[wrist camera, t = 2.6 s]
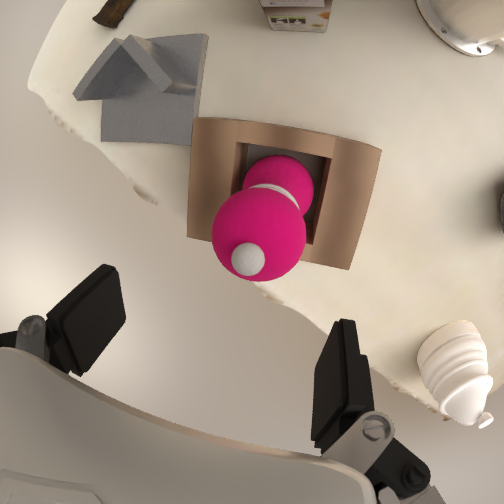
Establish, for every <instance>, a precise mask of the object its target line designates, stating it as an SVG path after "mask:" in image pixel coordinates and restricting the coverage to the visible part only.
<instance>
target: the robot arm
mask: <svg viewBox="0 0 504 504" xmlns="http://www.w3.org/2000/svg"><path fill="white" fill-rule="evenodd" d="M416 2H417V5H418V7H419V10H420V12H421V14H422V15H423V17H424V19H425V20H426V22H427V23H428V24H429V26H430V27H431V28H432V29H433V31H434V32H435V33H436V34H437V35H438V36H439V37H440V38H441V39H442V40H443V41H445V42H446V43H447V44H449V45H450V46H451V47H453V48H454V49H456V50H458V51H459V52H462V53H464V54H466V55H470V56H475V57H480V56H485V55H488V54H490V53H491V52H492V51H493V50H494V49H495V47H496V44H499V45H500V46H502V47H504V0H416ZM46 316H47V318H48V319H47V320H46V321H45V320H44V318H43V317H41V316H39V315H32V316H29V317H27V318H25V319H24V320H23V321H22V322H21V323H20V325H19V327H18V330H17V331H12V332H7V333H2V334H0V504H446V503H445V502H444V500H443V498H442V497H441V495H440V494H439V492H438V491H437V489H436V487H435V486H432V487H431V485H430V484H429V482H430V477H431V475H430V470H429V468H428V466H427V465H426V464H425V463H424V462H423V461H421V460H420V459H419V458H418V457H417V456H415V455H414V454H413V453H412V452H411V451H409V450H408V449H407V448H406V447H405V446H403V445H402V444H401V443H400V442H399V441H398V440H396V439H395V438H394V437H393V436H394V433H395V427H394V423H393V422H392V420H391V419H390V418H389V417H388V416H387V415H386V414H384V413H382V412H378V411H375V410H374V401H373V393H372V385H371V377H370V370H369V364H368V358H367V356H366V355H362V354H360V349H359V342H358V336H357V329H356V323H355V321H354V320H348V319H342V318H341V319H340V320H339V322H338V321H335V322H334V324H333V327H332V329H331V332H330V334H329V336H328V339H327V341H326V344H325V346H324V348H323V350H322V353H321V355H320V357H319V360H318V362H317V364H316V367H315V373H314V397H313V414H312V428H311V440H312V441H315V446H314V447H315V448H321V454H322V455H321V456H320V457H319V456H314V455H310V454H304V453H297V452H292V451H287V450H280V449H275V448H269V447H264V446H258V445H254V444H249V443H244V442H240V441H235V440H231V439H227V438H223V437H219V436H215V435H212V434H208V433H205V432H201V431H198V430H194V429H191V428H188V427H185V426H182V425H179V424H176V423H172V422H170V421H167V420H164V419H162V418H159V417H156V416H153V415H151V414H148V413H146V412H143V411H141V410H139V409H136V408H134V407H131V406H129V405H127V404H124V403H122V402H120V401H118V400H116V399H113V398H111V397H109V396H107V395H105V394H103V393H101V392H99V391H97V390H95V389H93V388H91V387H89V386H87V385H85V384H83V383H82V382H80V381H78V380H76V379H74V378H72V377H71V376H69V372H70V370H71V371H72V373H74V374H76V375H78V376H80V377H81V376H82V375H83V373H84V372H87V371H88V370H89V369H90V368H91V366H92V365H93V363H94V362H95V361H96V360H97V358H98V357H99V356H100V354H101V353H102V352H103V350H104V349H105V347H106V346H107V345H108V343H109V342H110V341H111V340H112V338H113V337H114V336H115V335H116V333H117V332H118V331H119V330H120V328H121V327H122V326H123V324H124V323H125V320H126V314H125V309H124V304H123V298H122V293H121V286H120V279H119V273H118V272H117V271H116V268H115V267H114V266H110V265H107V264H102V265H101V266H100V267H99V268H97V269H96V270H95V271H94V272H92V273H91V274H90V275H89V276H88V277H87V278H86V279H85V280H83V281H82V282H81V283H80V284H79V285H78V286H77V287H75V288H74V289H73V290H72V291H71V292H70V293H69V294H68V295H67V296H66V297H65V298H63V299H62V300H61V301H60V302H59V303H58V304H57V305H56V306H55V307H54V308H53V309H52V310H51V311H50V312H48V313H47V314H46Z"/></svg>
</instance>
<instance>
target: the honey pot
mask: <svg viewBox="0 0 504 504" xmlns="http://www.w3.org/2000/svg"><path fill="white" fill-rule="evenodd" d="M486 355H487V352H486V346H485V345H484V342H483V341H482V338H481V336H480V334H479V332H478V331H477V329H476V327H475V326H474V324H473V323H471V322H469V321H462V320H461V321H455V322H452V323H449V324H447V325H444V326H443V327H441V328H439V329H438V330H436V331H435V332H434V333H433V334H431V335H430V336H429V337H428V338H427V339H426V340H425V341H424V343H423V344H422V346H421V347H420V349H419V351H418V354H417V363H418V366H419V370H420V374H421V376H422V379H423V383H424V385H425V387H426V388H427V389H428V390H429V392H430V393H431V394H432V396H433V398H434V400H436V401H437V402H438V403H439V411H440V412H441V413H443V414H446V415H450V416H451V417H452V418H453V419H454V420H456V421H457V422H459V423H461V424H463V425H472V424H474V423H476V422H477V421H478V427H479V428H483V427H485V426H487V425H488V424H490V423H491V422H492V421H493V416H492V415H491V414H490V413H488V412H484V413H483V414H482V412H483V409H484V406H485V401H486V395H487V393H488V392H489V391H490V389H491V387H492V384H493V379H492V377H491V376H490V375H487V371H488V364H487V357H486ZM481 414H482V415H481Z"/></svg>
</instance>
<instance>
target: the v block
mask: <svg viewBox="0 0 504 504" xmlns="http://www.w3.org/2000/svg"><path fill="white" fill-rule="evenodd" d="M207 43H208V36H207V35H205V34H189V35H177V36H167V37H159V38H152V39H143V38H140V37H137V36H134V35H129V36H128V37H127V38H126V39H125V40H121V39H117V38H114V39H113V40H112V42H111V43H110V44H109V45H108V46H107V47H106V49H105V50H104V51H103V52H102V54H101V55H100V56H99V57H98V59H97V60H96V61H95V62H94V64H93V65H92V66H91V68H90V69H89V70H88V72H87V73H86V74H85V76H84V77H83V79H82V80H81V81H80V83H79V84H78V86H77V87H76V89H75V90H74V92H73V93H72V94H73V95H74V97H75V98H76V100H77V101H82V100H101V99H103V103H102V120H101V141H111V142H148V143H166V144H180V145H191V144H192V133H193V122H194V118H198V112H199V102H200V94H201V86H202V78H203V70H204V63H205V56H206V50H207Z"/></svg>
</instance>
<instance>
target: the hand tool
mask: <svg viewBox="0 0 504 504" xmlns="http://www.w3.org/2000/svg"><path fill="white" fill-rule="evenodd" d="M132 1H133V0H108V1H107V2H106V3H105V5H104V6H103V8H102V9H101V11H100V12H99V13H98V14H97V15H96V16H95V17H93V18H92V19H93V20H94V21H95V22H97V23H98V24H101V25H103V26H106V27H109V28H110V27H111V28H117V23H118V21H120V20H121V19H123V14H124V12H125V11H126V9H127V8H128V7H129V6H130V4H131V3H132Z"/></svg>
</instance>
